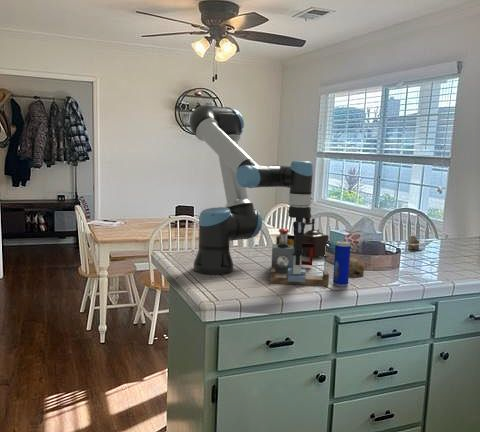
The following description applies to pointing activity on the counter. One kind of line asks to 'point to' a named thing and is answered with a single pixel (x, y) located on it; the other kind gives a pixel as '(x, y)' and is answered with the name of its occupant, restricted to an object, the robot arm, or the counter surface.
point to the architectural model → (413, 242)
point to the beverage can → (341, 263)
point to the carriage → (296, 277)
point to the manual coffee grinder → (314, 240)
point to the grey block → (282, 258)
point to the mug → (291, 242)
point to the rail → (308, 281)
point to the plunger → (283, 237)
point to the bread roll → (355, 268)
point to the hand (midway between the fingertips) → (296, 271)
